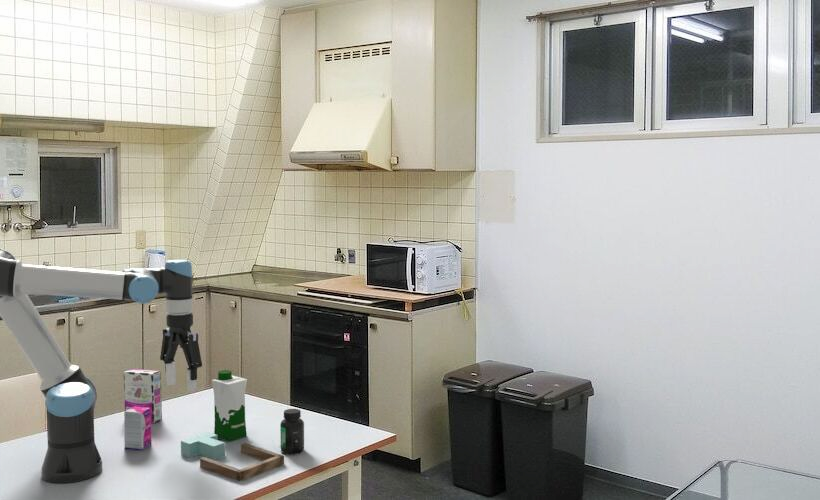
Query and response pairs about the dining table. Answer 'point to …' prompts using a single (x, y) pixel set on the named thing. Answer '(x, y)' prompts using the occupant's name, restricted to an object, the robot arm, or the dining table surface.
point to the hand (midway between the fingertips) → (181, 387)
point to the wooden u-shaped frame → (231, 472)
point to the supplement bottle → (292, 432)
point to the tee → (203, 446)
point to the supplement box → (137, 428)
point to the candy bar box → (143, 391)
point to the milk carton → (229, 406)
